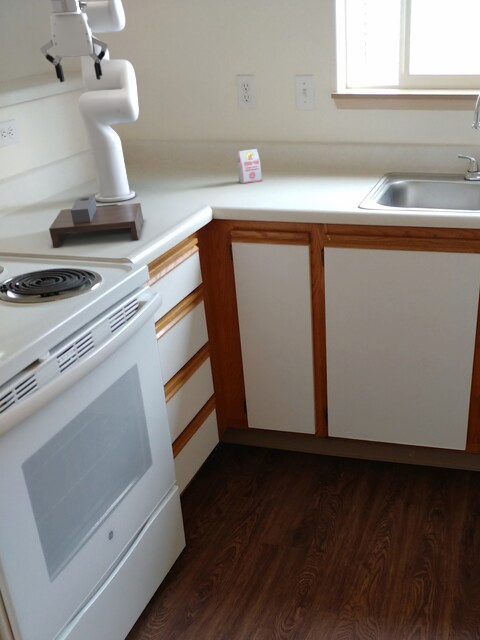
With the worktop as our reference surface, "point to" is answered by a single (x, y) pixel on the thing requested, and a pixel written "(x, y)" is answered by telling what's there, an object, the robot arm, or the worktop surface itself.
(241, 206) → the worktop surface
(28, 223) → the worktop surface
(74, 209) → the grey long block
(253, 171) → the white paper food bag
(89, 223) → the shelf
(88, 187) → the worktop surface
